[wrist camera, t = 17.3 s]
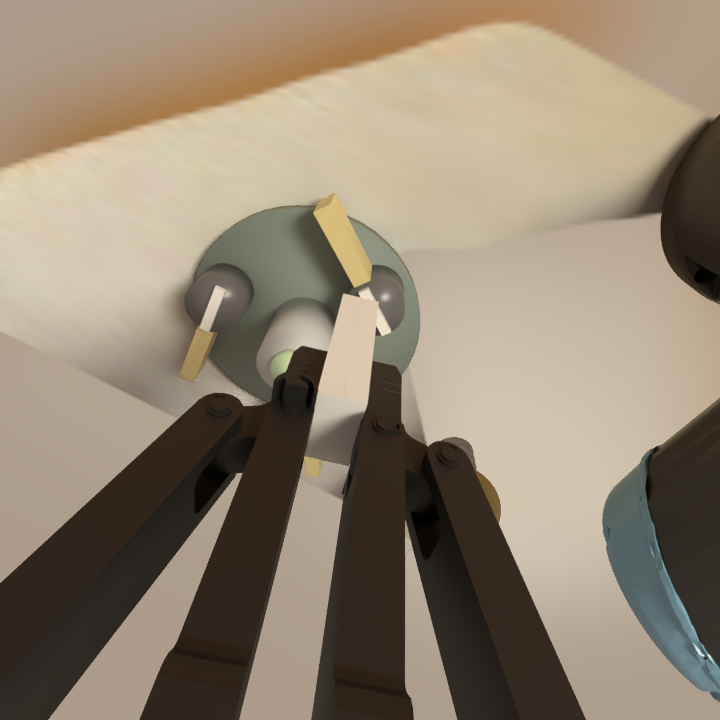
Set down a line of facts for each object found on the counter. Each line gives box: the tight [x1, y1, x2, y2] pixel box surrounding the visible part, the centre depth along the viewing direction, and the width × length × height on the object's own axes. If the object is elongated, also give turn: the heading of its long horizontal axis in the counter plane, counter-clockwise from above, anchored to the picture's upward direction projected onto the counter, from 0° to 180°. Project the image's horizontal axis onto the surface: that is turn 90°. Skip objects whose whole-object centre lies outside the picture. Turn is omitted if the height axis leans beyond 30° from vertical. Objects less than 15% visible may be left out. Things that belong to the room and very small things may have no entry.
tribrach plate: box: [194, 205, 420, 402], centre depth 33 cm, size 18×18×7 cm
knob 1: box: [179, 263, 254, 383], centre depth 34 cm, size 10×4×4 cm, turn 152°
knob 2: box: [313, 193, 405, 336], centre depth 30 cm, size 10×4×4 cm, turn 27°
